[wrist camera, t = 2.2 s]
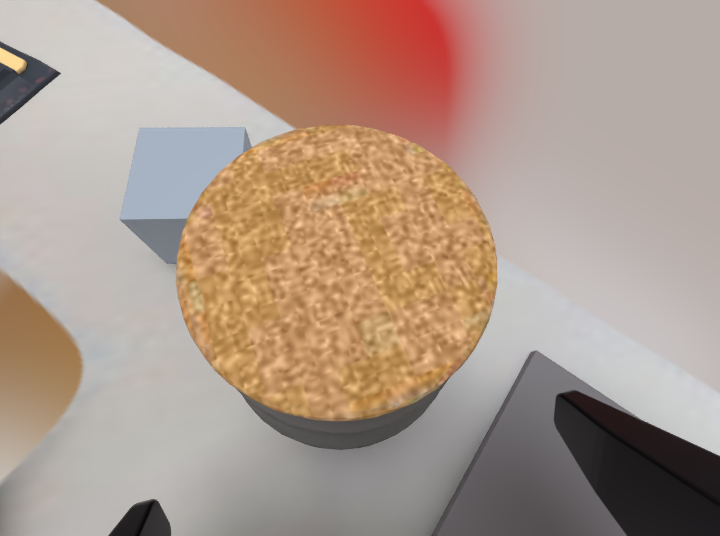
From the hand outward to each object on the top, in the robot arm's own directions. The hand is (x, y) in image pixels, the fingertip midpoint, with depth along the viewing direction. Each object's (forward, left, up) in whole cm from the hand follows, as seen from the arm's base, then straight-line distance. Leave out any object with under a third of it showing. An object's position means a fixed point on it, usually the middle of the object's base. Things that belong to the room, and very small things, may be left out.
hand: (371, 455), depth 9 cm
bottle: (+2, +2, -11) cm, 11 cm away
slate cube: (+7, +12, -11) cm, 18 cm away
